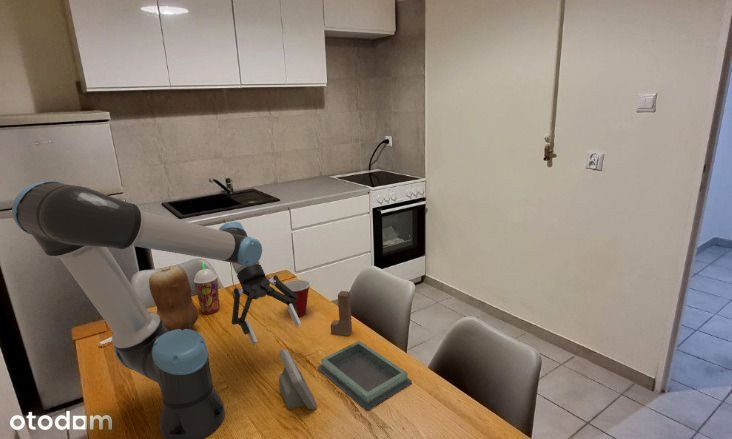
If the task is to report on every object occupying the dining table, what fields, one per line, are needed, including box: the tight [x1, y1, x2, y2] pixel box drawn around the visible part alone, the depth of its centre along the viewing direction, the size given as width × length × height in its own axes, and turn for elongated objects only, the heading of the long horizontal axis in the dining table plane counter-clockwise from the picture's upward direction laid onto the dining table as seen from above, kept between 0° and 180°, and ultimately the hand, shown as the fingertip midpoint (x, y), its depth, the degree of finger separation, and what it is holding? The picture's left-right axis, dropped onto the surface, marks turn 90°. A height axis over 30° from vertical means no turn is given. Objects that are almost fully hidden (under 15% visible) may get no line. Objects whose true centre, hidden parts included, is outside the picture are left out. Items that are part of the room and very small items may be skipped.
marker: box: [99, 336, 112, 345], centre depth 148 cm, size 18×2×2 cm, turn 146°
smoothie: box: [193, 261, 220, 315], centre depth 160 cm, size 8×8×20 cm
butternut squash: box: [148, 265, 199, 331], centre depth 143 cm, size 14×13×25 cm
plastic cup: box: [282, 279, 311, 318], centre depth 157 cm, size 11×11×12 cm
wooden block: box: [330, 290, 353, 337], centre depth 142 cm, size 7×3×15 cm, turn 74°
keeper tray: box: [317, 340, 413, 412], centre depth 121 cm, size 16×23×4 cm
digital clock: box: [278, 348, 318, 411], centre depth 114 cm, size 16×9×11 cm, turn 14°
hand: (277, 334), depth 119 cm, fingers open, 13 cm apart
